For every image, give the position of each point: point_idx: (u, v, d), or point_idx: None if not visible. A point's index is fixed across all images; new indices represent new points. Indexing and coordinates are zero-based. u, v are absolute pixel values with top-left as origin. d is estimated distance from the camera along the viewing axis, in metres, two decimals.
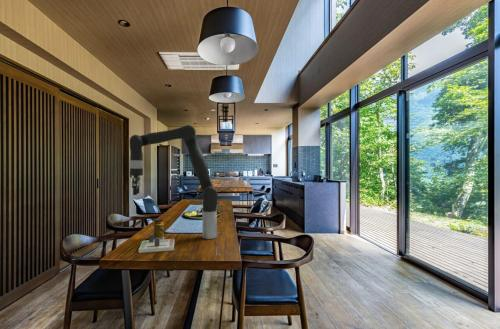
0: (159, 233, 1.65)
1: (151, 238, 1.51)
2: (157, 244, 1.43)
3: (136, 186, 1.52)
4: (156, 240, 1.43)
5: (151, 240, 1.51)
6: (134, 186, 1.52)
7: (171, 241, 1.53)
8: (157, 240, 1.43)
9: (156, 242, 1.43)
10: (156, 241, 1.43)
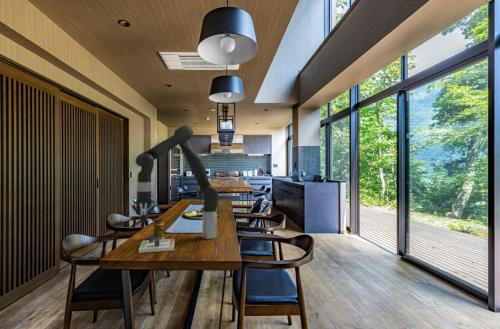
0: (159, 233, 1.65)
1: (151, 238, 1.51)
2: (157, 244, 1.43)
3: None
4: (156, 240, 1.43)
5: (151, 240, 1.51)
6: (149, 211, 1.44)
7: (171, 241, 1.53)
8: (157, 240, 1.43)
9: (156, 242, 1.43)
10: (156, 241, 1.43)
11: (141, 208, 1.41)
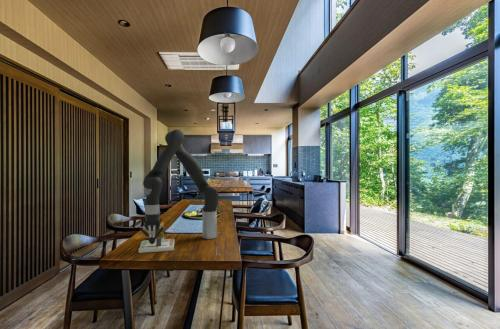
0: None
1: None
2: (159, 244, 1.43)
3: None
4: (158, 240, 1.43)
5: None
6: None
7: (171, 241, 1.53)
8: (159, 240, 1.43)
9: (158, 242, 1.43)
10: (158, 241, 1.43)
11: (149, 231, 1.42)
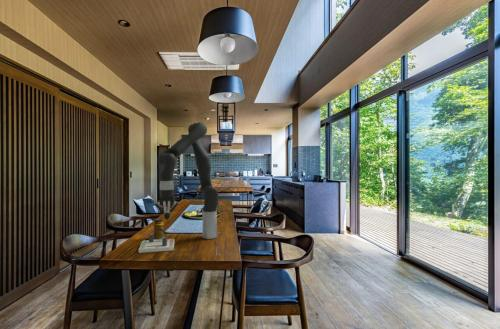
0: (159, 233, 1.65)
1: (151, 238, 1.51)
2: (165, 243, 1.44)
3: None
4: (164, 240, 1.44)
5: (151, 240, 1.51)
6: (172, 209, 1.47)
7: (171, 241, 1.53)
8: (165, 240, 1.44)
9: (164, 242, 1.44)
10: (164, 241, 1.44)
11: (164, 206, 1.44)
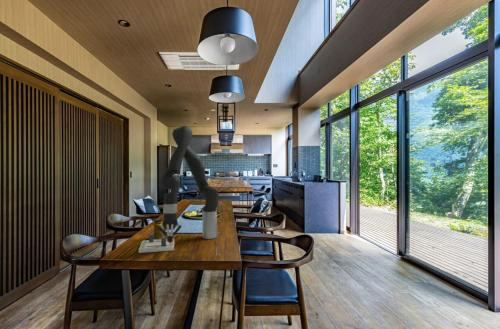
0: (159, 233, 1.65)
1: (151, 238, 1.51)
2: (164, 244, 1.44)
3: None
4: (163, 240, 1.44)
5: (151, 240, 1.51)
6: (175, 232, 1.47)
7: None
8: (164, 240, 1.44)
9: (163, 242, 1.44)
10: (163, 241, 1.44)
11: (168, 229, 1.44)
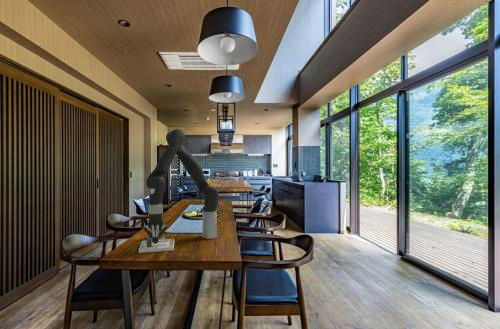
0: None
1: None
2: (149, 245, 1.42)
3: (161, 233, 1.46)
4: (148, 240, 1.42)
5: None
6: None
7: (171, 241, 1.53)
8: (149, 240, 1.42)
9: (148, 243, 1.42)
10: (148, 242, 1.42)
11: (153, 230, 1.42)
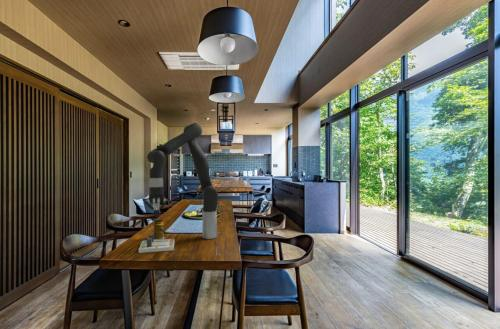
0: (159, 233, 1.65)
1: None
2: (149, 245, 1.42)
3: None
4: (148, 240, 1.42)
5: None
6: None
7: (171, 241, 1.53)
8: (149, 240, 1.42)
9: (148, 242, 1.42)
10: (148, 241, 1.42)
11: (154, 203, 1.44)
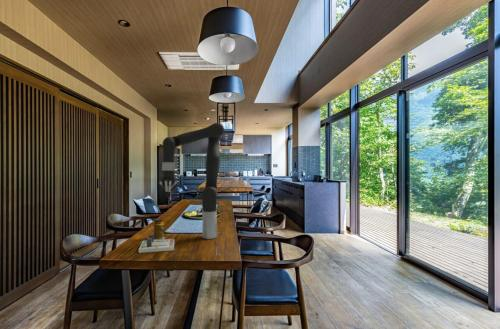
0: (159, 233, 1.65)
1: None
2: (149, 245, 1.42)
3: None
4: (148, 240, 1.42)
5: None
6: (173, 189, 1.61)
7: (171, 241, 1.53)
8: (149, 240, 1.42)
9: (148, 242, 1.42)
10: (148, 241, 1.42)
11: (166, 185, 1.58)
